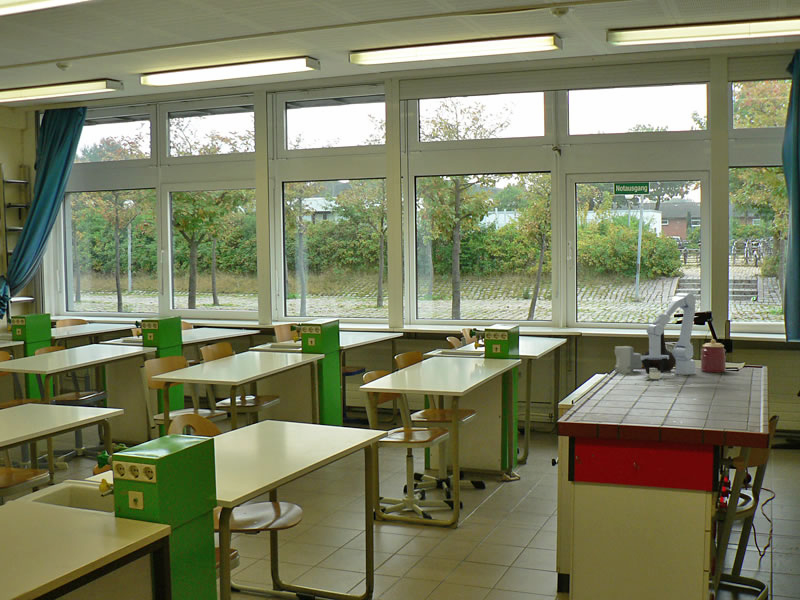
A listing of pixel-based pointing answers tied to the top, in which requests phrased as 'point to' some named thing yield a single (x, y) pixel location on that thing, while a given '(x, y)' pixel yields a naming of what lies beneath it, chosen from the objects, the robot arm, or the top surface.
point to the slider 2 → (654, 374)
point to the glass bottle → (656, 362)
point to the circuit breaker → (627, 359)
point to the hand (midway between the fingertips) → (654, 373)
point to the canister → (713, 357)
